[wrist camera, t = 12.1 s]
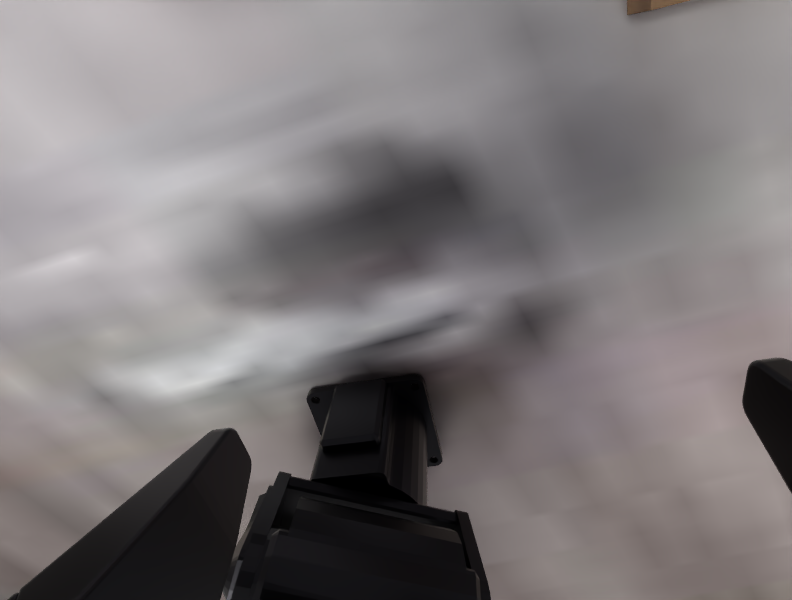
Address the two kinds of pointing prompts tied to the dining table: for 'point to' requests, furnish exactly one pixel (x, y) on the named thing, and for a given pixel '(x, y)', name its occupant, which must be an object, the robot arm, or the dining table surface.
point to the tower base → (649, 5)
